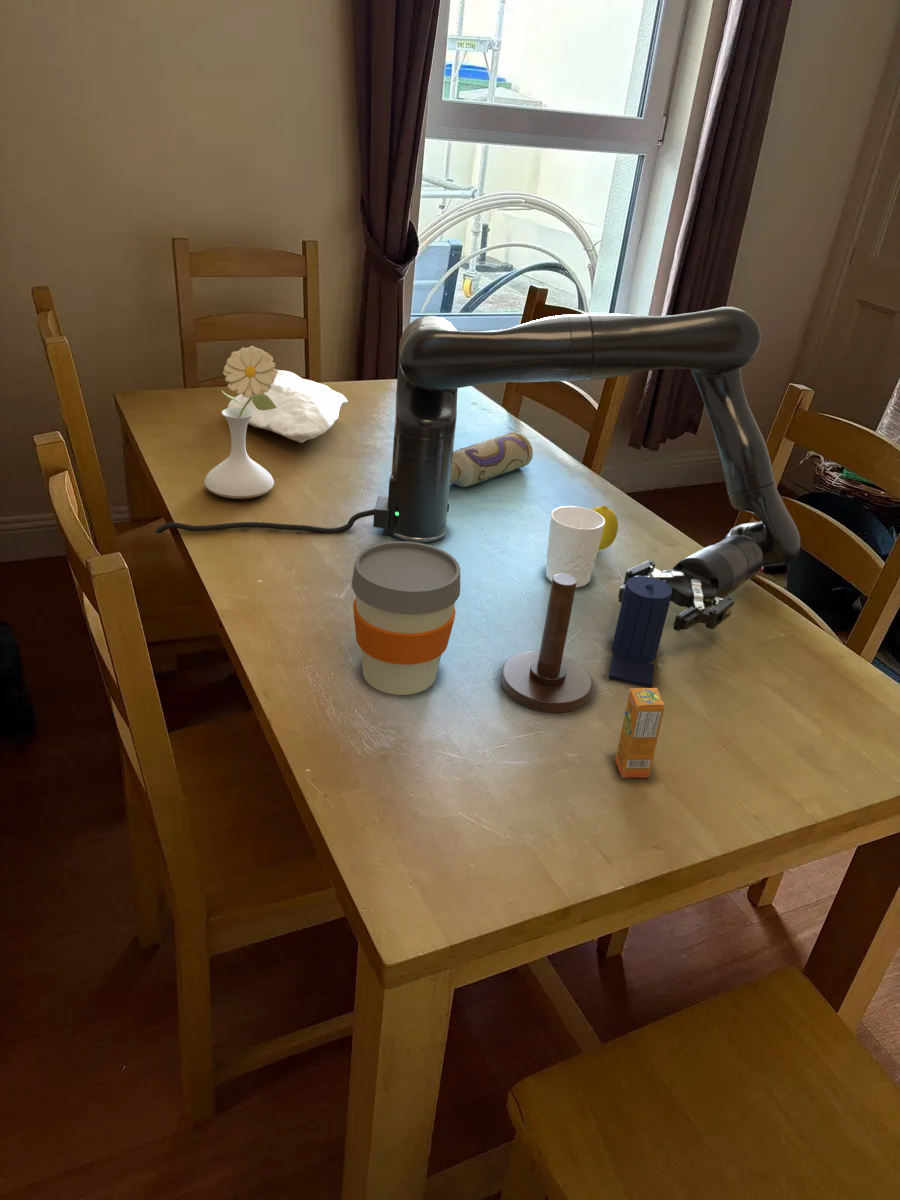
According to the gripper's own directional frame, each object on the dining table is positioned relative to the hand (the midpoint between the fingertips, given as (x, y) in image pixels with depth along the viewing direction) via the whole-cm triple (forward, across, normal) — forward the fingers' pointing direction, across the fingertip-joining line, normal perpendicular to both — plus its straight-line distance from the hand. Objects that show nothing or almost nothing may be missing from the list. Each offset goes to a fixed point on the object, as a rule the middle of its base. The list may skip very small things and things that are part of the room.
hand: (648, 610), depth 116 cm
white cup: (-8, -18, +6) cm, 21 cm away
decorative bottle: (-25, -53, +6) cm, 59 cm away
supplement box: (+22, +13, +6) cm, 26 cm away
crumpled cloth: (-13, -92, +6) cm, 93 cm away
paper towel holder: (+17, -3, +6) cm, 18 cm away
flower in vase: (+14, -71, +6) cm, 72 cm away
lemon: (-19, -21, +6) cm, 29 cm away
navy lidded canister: (+3, +1, +6) cm, 7 cm away
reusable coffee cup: (+29, -16, +6) cm, 34 cm away
